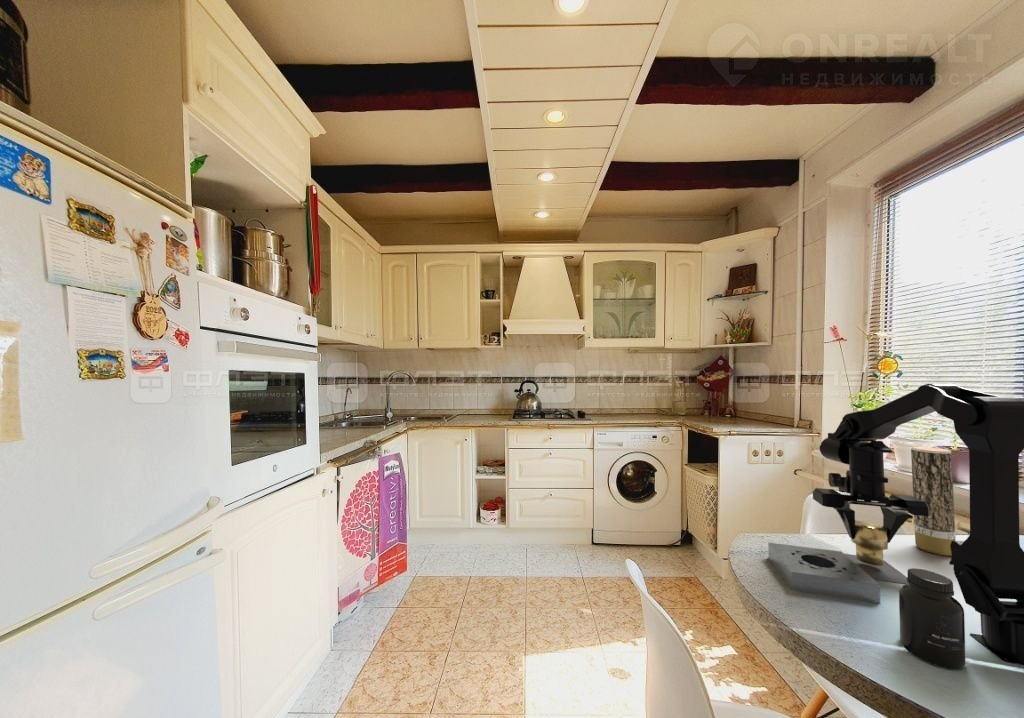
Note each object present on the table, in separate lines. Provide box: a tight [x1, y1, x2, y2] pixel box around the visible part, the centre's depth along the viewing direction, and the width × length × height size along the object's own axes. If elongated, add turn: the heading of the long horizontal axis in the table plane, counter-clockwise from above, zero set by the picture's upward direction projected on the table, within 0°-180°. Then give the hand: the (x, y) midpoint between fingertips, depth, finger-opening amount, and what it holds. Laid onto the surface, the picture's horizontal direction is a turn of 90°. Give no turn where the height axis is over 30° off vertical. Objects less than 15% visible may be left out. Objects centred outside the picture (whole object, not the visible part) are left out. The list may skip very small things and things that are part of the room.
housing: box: [767, 542, 881, 605], centre depth 80 cm, size 14×14×4 cm
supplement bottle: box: [898, 567, 966, 671], centre depth 59 cm, size 7×7×12 cm
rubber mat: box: [844, 553, 909, 585], centre depth 84 cm, size 12×10×1 cm
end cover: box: [850, 520, 889, 566], centre depth 84 cm, size 6×6×8 cm
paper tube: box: [910, 446, 957, 557], centre depth 94 cm, size 7×7×25 cm
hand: (869, 540), depth 84 cm, fingers closed on end cover, 6 cm apart
